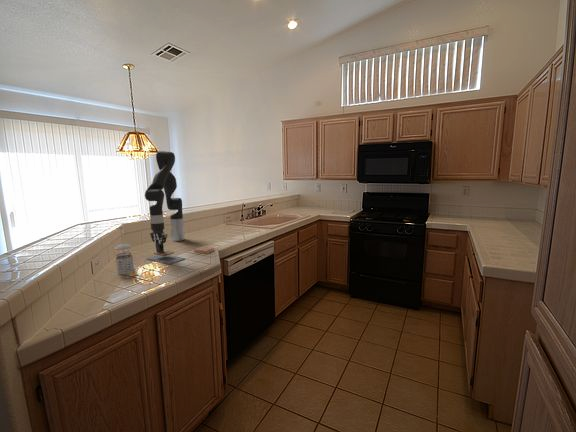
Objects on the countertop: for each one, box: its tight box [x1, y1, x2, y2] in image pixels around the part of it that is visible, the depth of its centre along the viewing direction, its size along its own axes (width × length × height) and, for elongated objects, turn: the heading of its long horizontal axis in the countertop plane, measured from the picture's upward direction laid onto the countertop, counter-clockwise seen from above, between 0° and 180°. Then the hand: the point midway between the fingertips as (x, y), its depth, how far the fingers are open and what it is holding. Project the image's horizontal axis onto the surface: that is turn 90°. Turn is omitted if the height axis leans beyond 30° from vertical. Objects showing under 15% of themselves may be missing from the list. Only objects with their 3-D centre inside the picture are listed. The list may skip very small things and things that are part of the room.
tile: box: [193, 246, 215, 255], centre depth 188 cm, size 2×8×10 cm
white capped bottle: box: [114, 226, 136, 275], centre depth 151 cm, size 10×12×25 cm
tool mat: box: [146, 254, 186, 265], centre depth 173 cm, size 22×11×1 cm, turn 60°
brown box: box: [153, 242, 175, 256], centre depth 172 cm, size 10×7×7 cm
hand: (159, 249), depth 174 cm, fingers closed on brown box, 3 cm apart
